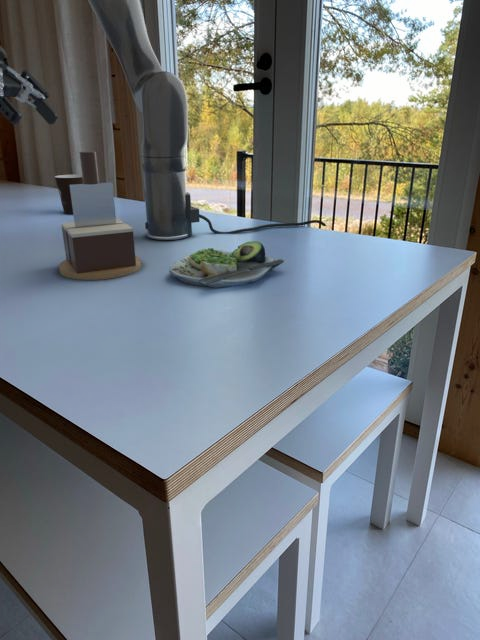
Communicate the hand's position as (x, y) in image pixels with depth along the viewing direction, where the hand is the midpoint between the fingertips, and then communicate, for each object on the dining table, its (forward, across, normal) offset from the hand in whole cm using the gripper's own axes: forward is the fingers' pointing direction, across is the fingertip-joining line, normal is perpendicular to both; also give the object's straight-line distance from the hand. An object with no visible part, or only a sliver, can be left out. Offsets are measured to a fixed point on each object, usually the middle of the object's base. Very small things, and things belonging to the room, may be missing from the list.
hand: (37, 120), depth 78 cm
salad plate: (+39, +5, -5) cm, 40 cm away
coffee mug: (-4, +46, +38) cm, 60 cm away
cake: (+24, 0, +11) cm, 26 cm away
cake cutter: (+18, 0, +5) cm, 19 cm away
